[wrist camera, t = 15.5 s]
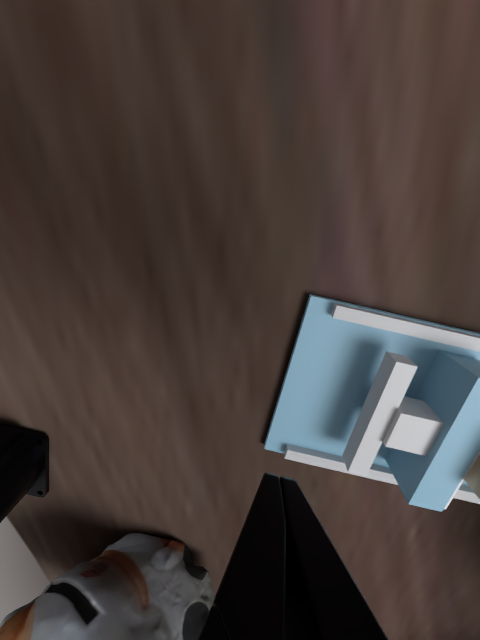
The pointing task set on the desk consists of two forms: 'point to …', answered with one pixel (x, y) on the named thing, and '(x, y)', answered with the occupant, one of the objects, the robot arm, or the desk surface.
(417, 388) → the vise base
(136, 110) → the desk surface
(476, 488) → the beech block
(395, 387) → the sliding jaw
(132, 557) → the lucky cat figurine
